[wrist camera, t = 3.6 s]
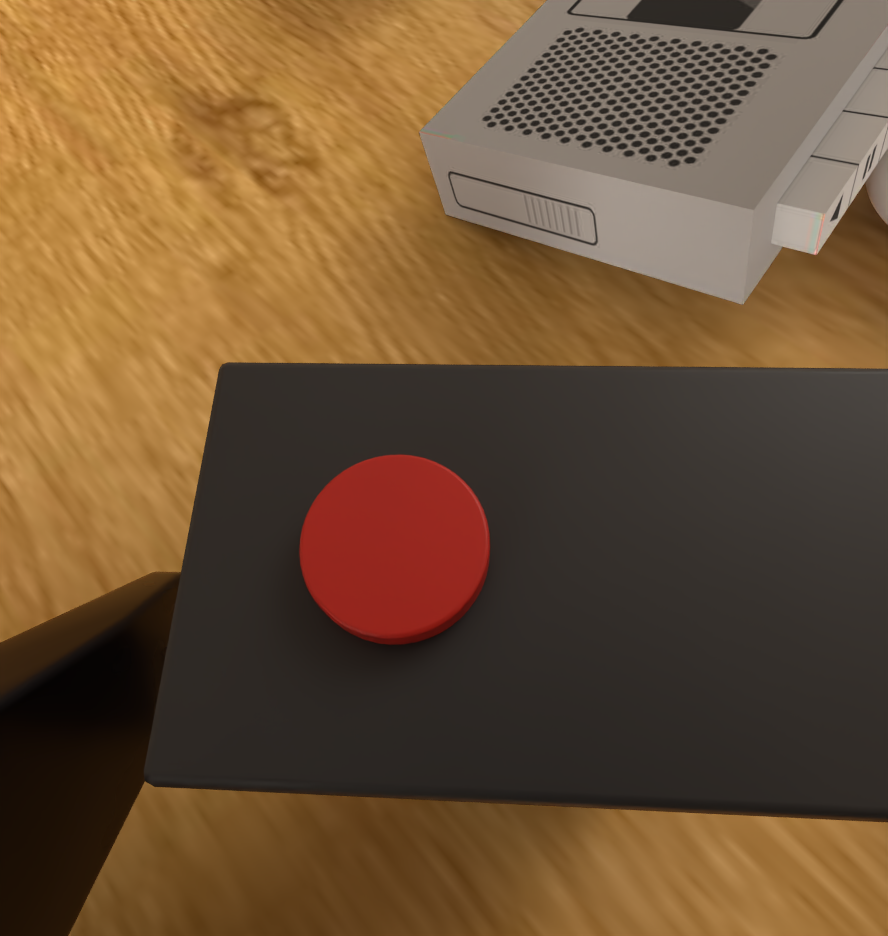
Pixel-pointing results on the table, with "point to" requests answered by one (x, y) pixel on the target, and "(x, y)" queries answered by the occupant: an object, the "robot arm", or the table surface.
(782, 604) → the block
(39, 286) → the table surface
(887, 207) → the cream animal figurine
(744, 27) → the cassette player
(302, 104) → the table surface
